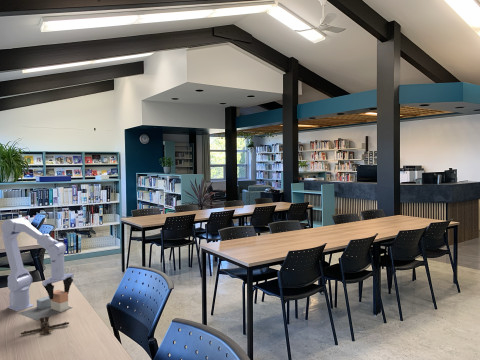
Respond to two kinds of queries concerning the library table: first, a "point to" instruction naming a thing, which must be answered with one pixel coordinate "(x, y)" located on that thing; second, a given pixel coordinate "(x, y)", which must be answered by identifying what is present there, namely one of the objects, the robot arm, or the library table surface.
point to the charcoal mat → (40, 313)
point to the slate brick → (43, 303)
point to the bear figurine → (45, 326)
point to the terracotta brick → (60, 296)
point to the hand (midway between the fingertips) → (59, 296)
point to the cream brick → (59, 306)
